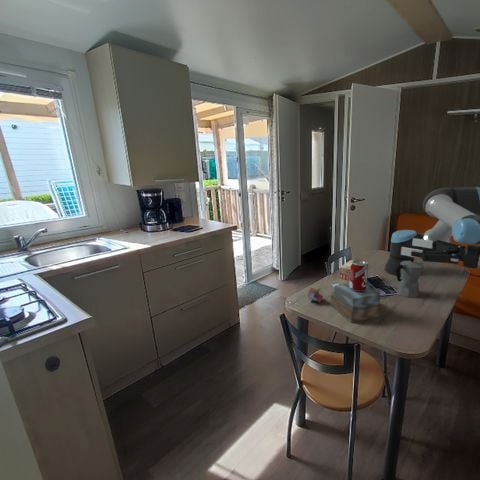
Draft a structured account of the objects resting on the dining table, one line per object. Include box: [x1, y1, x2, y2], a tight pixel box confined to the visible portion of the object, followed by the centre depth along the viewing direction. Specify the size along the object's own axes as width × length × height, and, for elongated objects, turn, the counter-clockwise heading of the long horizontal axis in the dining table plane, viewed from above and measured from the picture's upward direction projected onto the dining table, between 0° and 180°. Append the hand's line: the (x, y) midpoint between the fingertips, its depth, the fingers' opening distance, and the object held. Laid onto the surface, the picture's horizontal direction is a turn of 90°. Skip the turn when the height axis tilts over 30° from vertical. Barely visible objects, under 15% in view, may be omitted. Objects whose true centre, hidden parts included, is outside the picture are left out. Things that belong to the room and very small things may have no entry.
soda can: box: [349, 260, 369, 291], centre depth 122 cm, size 7×7×12 cm
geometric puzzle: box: [307, 287, 324, 304], centre depth 134 cm, size 7×7×8 cm
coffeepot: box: [395, 257, 424, 298], centre depth 136 cm, size 15×9×18 cm, turn 107°
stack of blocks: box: [338, 259, 369, 285], centre depth 150 cm, size 21×6×12 cm, turn 136°
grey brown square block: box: [329, 283, 384, 323], centre depth 124 cm, size 15×15×10 cm
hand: (407, 246), depth 107 cm, fingers open, 13 cm apart
